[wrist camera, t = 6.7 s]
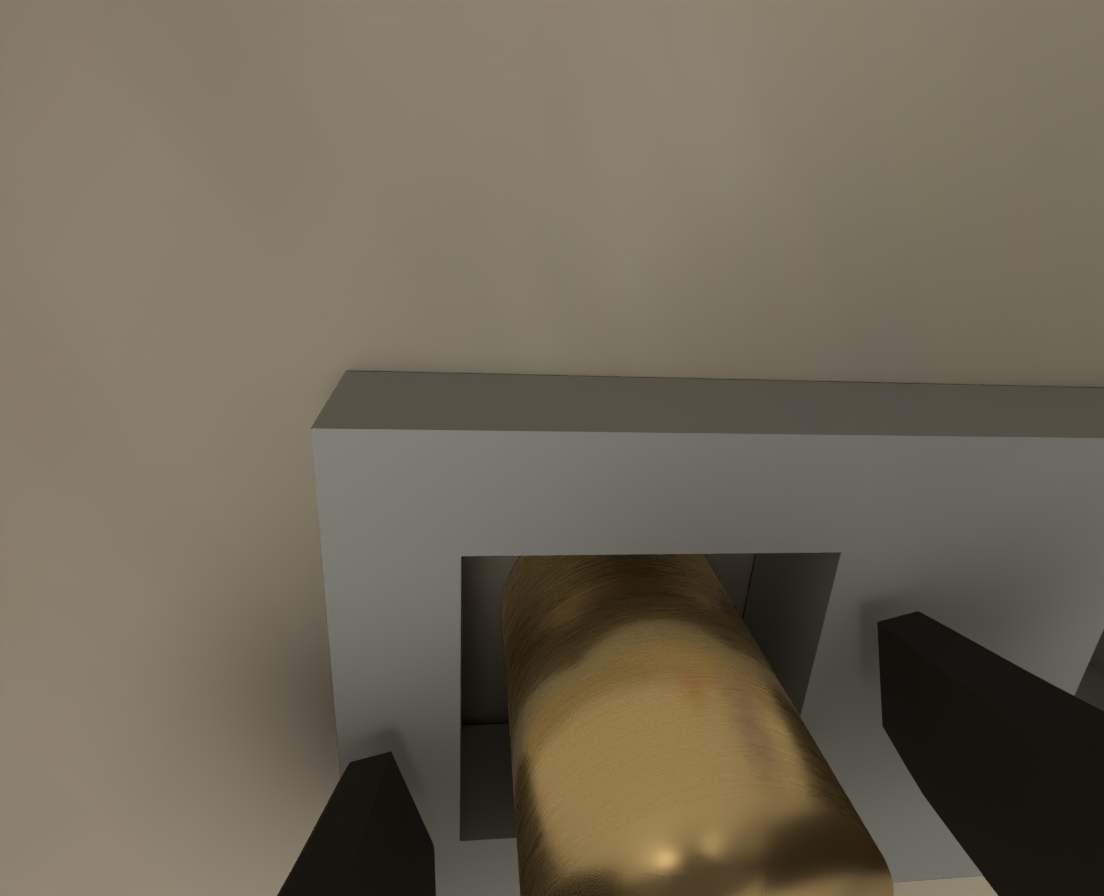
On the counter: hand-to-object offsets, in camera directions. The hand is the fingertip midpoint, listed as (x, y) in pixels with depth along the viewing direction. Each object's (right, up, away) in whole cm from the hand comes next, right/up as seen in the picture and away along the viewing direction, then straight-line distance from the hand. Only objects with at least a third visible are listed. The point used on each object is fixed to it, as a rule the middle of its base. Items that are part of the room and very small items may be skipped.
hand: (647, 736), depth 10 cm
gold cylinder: (0, +1, +3) cm, 3 cm away
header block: (+4, +1, +3) cm, 5 cm away
